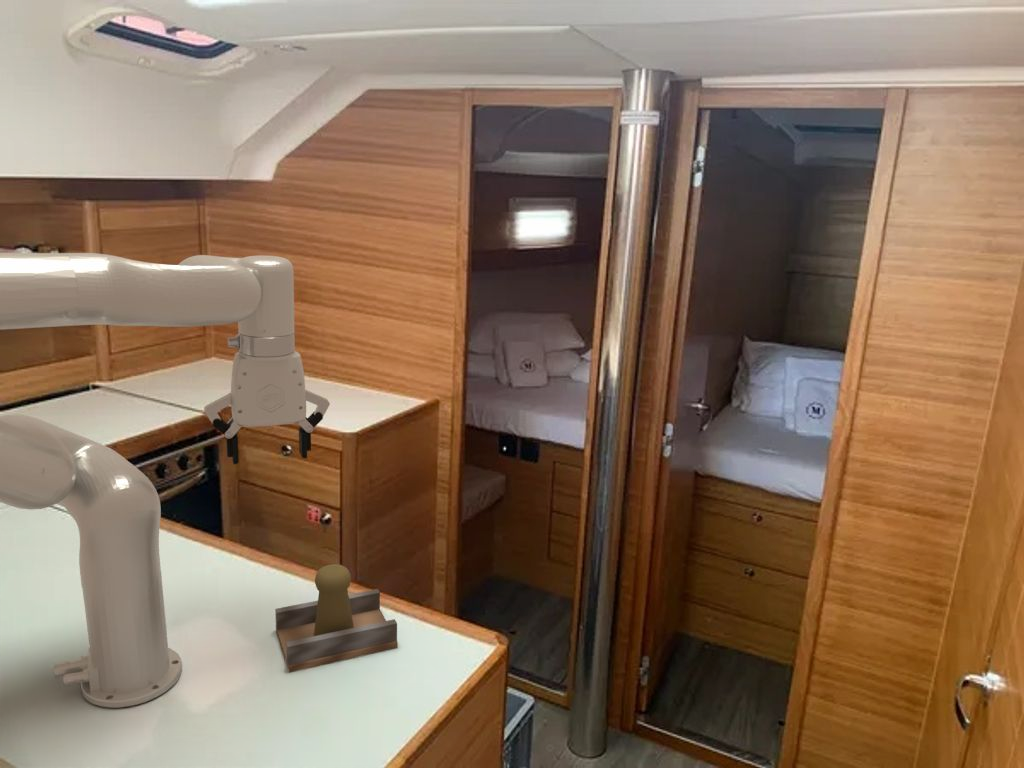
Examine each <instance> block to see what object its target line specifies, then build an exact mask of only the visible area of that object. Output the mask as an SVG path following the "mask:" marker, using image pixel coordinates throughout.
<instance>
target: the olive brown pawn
mask: <svg viewBox="0 0 1024 768" xmlns="http://www.w3.org/2000/svg"><path fill="white" fill-rule="evenodd" d="M351 581H352V576H351V573H350V571H349V569H348V568H347V567H346V566H344V565H341V564H338V563H334V564H333V563H332V564H327V565H325V566H322V567H321V568H319V570H318V571H317V572H316V574H315V578H314V583H315V588H316V590H317V591H318V596H317V597H318V598H317V601H318V605H317V613H316V621H315V630H314V636H318V635H323V634H327V633H332V632H337V631H341V630H346V629H351V628H354V625H353V619H352V614H351V608H350V602H349V596H348V595H349V591H348V589H349V588H350V585H351Z"/></svg>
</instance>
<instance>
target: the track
mask: <svg viewBox="0 0 1024 768" xmlns="http://www.w3.org/2000/svg"><path fill="white" fill-rule="evenodd" d="M380 594H381V593H380V591H379V588H375V589H370V590H366V591H360V592H354V593H350V594H349V593H348V596H349V602H350V608H351V614H352V619H353V625H354V628H351V629H346V630H341V631H337V632H332V633H327V634H323V635H318V636H314V630H315V621H316V613H317V605H318V600H314V601H307V602H303V603H298V604H292V605H288V606H282V607H278V608H274V609H275V610H274V611H275V631H276V635H277V638H278V641H279V644H280V649H281V652H282V654H283V657H284V661H285V664H286V668H287V671H288V673H293V672H297V671H301V670H302V671H303V670H306V669H310V668H314V667H315V668H316V667H319V666H325V665H328V664H332V663H337V662H341V661H345V660H349V659H353V658H354V659H355V658H359V657H363V656H367V655H368V656H369V655H372V654H375V653H381V652H384V651H389V650H390V651H391V650H393V649H398V646H399V645H398V644H399V643H398V623H397V621H396V619H395V618H394V619H390V620H389V619H388V620H386V618H385V616H384V614H383V611H382V610H381V595H380Z"/></svg>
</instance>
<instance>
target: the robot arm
mask: <svg viewBox="0 0 1024 768" xmlns="http://www.w3.org/2000/svg"><path fill="white" fill-rule="evenodd" d="M294 279H295V277H294V266H293V264H292V262H291V261H290V260H289V259H287V258H286V257H282V256H277V255H276V256H275V255H250V256H249V255H248V256H245V257H229V256H228V257H227V256H219V255H210V254H209V255H208V254H198V255H192V256H190V257H187V258H185V259H183V260H182V261H180V262H179V263H178V264H165V263H156V262H155V263H153V262H146V261H142V260H141V261H140V260H135V259H130V258H126V257H121V256H118V255H112V254H105V253H104V254H103V253H97V252H96V253H95V252H54V253H53V252H50V253H49V252H47V253H46V252H43V253H42V252H34V253H33V252H0V330H16V329H17V330H18V329H33V328H34V329H36V328H51V327H53V328H56V327H70V326H71V327H73V326H88V325H89V326H91V325H95V326H96V325H97V326H98V325H105V326H108V325H109V326H121V327H137V326H138V327H143V326H144V327H177V328H178V327H179V328H180V327H181V328H182V327H183V328H184V327H203V326H220V325H230V324H236V323H237V328H238V331H237V334H236V335H235V336H233V337H227V346H228V348H234V349H236V350H237V351H238V352H236V353H234V356H233V361H232V367H231V368H232V372H231V379H230V380H231V381H230V392H229V393H227V394H225V395H223V396H222V397H220V398H218V399H216V400H214V401H213V402H210V403H209V404H207V405H205V406H204V414H205V415H206V416H207V418H208V419H209V421H210V422H211V424H212V426H213V427H214V429H216V430H218V431H219V432H220V433H221V434H223V435H224V437H225V438H226V442H225V443H226V456H227V458H231V459H232V464H233V465H238V464H239V463H240V461H239V440H238V434H237V433H238V431H240V429H241V428H242V427H244V428H246V427H248V428H252V427H267V426H280V425H293V424H294V425H295V424H298V425H299V428H298V452H299V454H300V457H301V458H302V459H307V458H308V451H312V432H313V431H314V429H315V427H316V426H317V425H318V424H319V423H321V421H322V420H323V419H324V416H325V414H327V413H326V412H327V410H328V408H329V407H330V404H331V403H330V401H329V400H328V398H326V397H323V396H321V395H320V394H319V395H318V394H316V393H314V392H312V391H310V390H307V389H306V383H305V373H304V372H305V370H304V367H303V366H304V365H303V360H302V356H301V354H300V353H299V352H298V351H296V348H295V291H294V290H295V289H294V286H295V285H294V284H295V283H294V282H295V281H294ZM307 402H309V403H311V404H314V405H316V408H315V410H314V411H313V412H312V413H311V414H310V415H309V416H308V417H307ZM229 406H230V410H231V415H232V417H231V418H230V419H229V420H228V421H227V422H226V421H225V420H224V419H222V418H221V417H220V416H219V414H218V412H219V411H222V410H223V409H225V408H227V407H229ZM0 503H2V504H5V505H7V506H10V507H14V508H17V509H20V510H21V509H23V510H29V511H31V510H42V509H47V508H50V507H53V506H55V505H59V506H60V507H63V508H64V509H65V510H66V511H67V512H68V513H69V515H70V517H72V519H73V520H74V522H75V523H76V525H77V527H78V529H77V530H78V533H79V551H78V553H79V554H78V556H79V558H78V560H79V561H78V562H79V575H80V584H81V589H82V597H83V605H84V613H85V621H86V627H87V628H86V629H87V637H88V643H89V644H88V646H89V647H88V654H86V655H81V656H80V659H75V660H67V661H61V662H57V663H54V664H53V665H54V666H53V672H54V673H53V674H54V679H59V678H63V685H64V686H68V685H73V684H76V683H80V689H81V693H82V696H83V697H84V699H86V701H88V702H89V703H90V704H92V705H96V706H99V707H104V708H112V709H113V708H114V709H115V708H117V709H118V708H125V707H126V708H127V707H132V706H136V705H140V704H143V703H147V702H148V701H151V700H153V699H155V698H157V697H159V696H160V695H162V694H165V693H166V692H167V691H168V690H169V689H170V688H172V687H173V686H174V685H175V684H176V682H178V680H179V678H180V677H181V675H182V671H183V668H182V667H183V666H182V665H183V664H182V658H181V657H180V655H179V653H178V652H176V651H175V650H173V649H172V648H169V643H168V642H169V641H168V633H167V632H168V631H167V623H166V611H165V609H166V608H165V599H164V598H165V597H164V589H163V588H164V587H163V578H162V577H163V576H162V569H161V556H160V529H161V528H160V527H161V526H160V525H161V515H162V511H161V501H160V496H159V493H158V492H157V488H155V485H154V484H153V482H152V481H151V480H150V479H149V478H148V476H147V475H145V473H143V472H142V471H141V470H140V469H138V467H136V466H135V465H134V464H133V463H131V462H130V461H128V460H127V459H126V458H125V457H124V456H122V455H121V454H120V453H118V452H117V451H116V450H114V449H113V448H111V447H108V446H107V445H104V444H102V443H99V442H97V441H95V440H92V439H89V438H87V437H85V436H82V435H80V434H78V433H74V432H72V431H70V430H67V429H66V428H65V429H64V428H61V427H59V426H57V425H54V424H52V423H49V422H47V421H45V420H42V419H39V418H36V417H33V416H30V415H24V414H5V415H1V416H0Z"/></svg>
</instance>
